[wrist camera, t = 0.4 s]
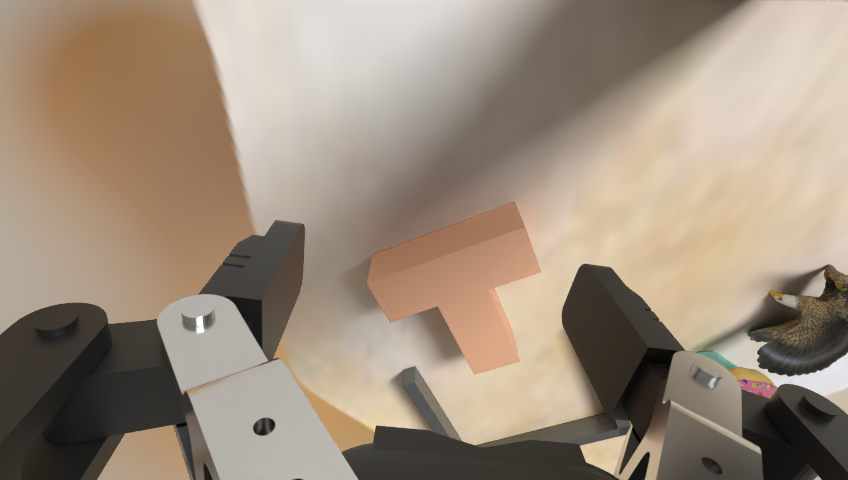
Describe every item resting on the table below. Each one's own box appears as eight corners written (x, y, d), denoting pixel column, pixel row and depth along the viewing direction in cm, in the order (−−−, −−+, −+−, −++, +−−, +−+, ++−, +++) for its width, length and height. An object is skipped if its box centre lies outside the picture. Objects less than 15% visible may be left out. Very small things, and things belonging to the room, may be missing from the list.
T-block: (514, 201, 31) (524, 227, 28) (554, 314, 37) (567, 347, 33) (372, 254, 34) (366, 283, 30) (430, 353, 39) (430, 387, 36)
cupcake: (657, 341, 38) (742, 469, 28) (755, 330, 38) (880, 457, 27) (648, 403, 43) (719, 533, 32) (736, 393, 42) (838, 524, 31)
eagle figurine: (779, 255, 32) (725, 351, 35) (909, 301, 27) (833, 410, 30) (803, 252, 37) (754, 337, 40) (918, 291, 32) (851, 386, 35)
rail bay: (593, 312, 37) (601, 327, 35) (624, 415, 44) (632, 433, 42) (404, 369, 41) (403, 386, 39) (460, 456, 47) (461, 473, 46)
